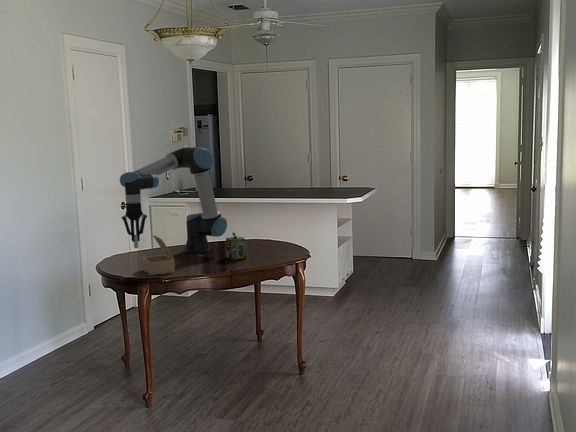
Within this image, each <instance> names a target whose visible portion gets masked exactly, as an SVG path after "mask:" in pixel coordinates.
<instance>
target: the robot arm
mask: <svg viewBox="0 0 576 432" xmlns="http://www.w3.org/2000/svg"><path fill="white" fill-rule="evenodd" d="M213 160H214V157H213V155H212V153H211V151H210V150H209V149H208V148H205V147H202V146H200V147H199V146H198V147H189V146H188V147H185V146H184V147H183V148H178V149H176V150H174V151H172V152H169V153H168V154H166V155H165V157H163V158H161V159H158V160H156V161H154V162H151V163H150V164H148V165H146V166H143V167H141V168H139V169H137V170H134V171H127V172H124V173H122V174H121V175H120V177H119V184H120V185H121V186H122V188H123V187H124V192H125V193H124V194H125V202H126V203H125V208H126V211H125V214H124V215H123V216H121V220H122V221H123V224H124V227H125V230H126V233H127V234H128V235H129V236H130V237H131V242H133V248H134V249H138V248H139V242H140V241H141V240H140V239H141V238H140V235H142V234H143V233H144V229H145V225H146V224H145V223H146V219H147V218H148V215H147V214H144V212H143V211H142V202H141V201H142V199H141V196H142V195H141V191H142V190H149V189H155V188H157V187H158V186H159V184H160V181H159V180H160V179H159V176H160V175H162V174H164V173H166V172H168V171H170V170H173V171H175V170H177V169H182V168H184V169H185V168H187V169H188V168H189V172H190V174H191V175H192V176H193V177H194V181H195V186H196V191H197V193H198V198H199V202H200V206H201V211H202V212H197V213H191V214H188V215H186V222H185V225H186V235H187V236H186V242H185V247H184V253H186V254H205V253H208V252H210V251H211V247H210V244H209V241H208V238H207V237H213V238H215V237H216V238H219V237H221V236H223V235H224V234H225V233H226V231H227V228H228V221H227V219H226V218H225V217H224V216H222V212H221V211H220V210H218V208H217V203H216V198H215V194H214V190H213V186H212V181H211V177H210V176H211V175H210V171H211V167H212V165H213ZM127 219H128V220H129V221H130V222H129V223H130V224H129V223H128V220H127ZM140 219H141V220H140ZM140 221H141V222H140ZM129 225H130V226H129Z"/></svg>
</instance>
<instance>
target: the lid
mask: <svg viewBox="0 0 576 432" xmlns="http://www.w3.org/2000/svg"><path fill="white" fill-rule="evenodd" d="M153 238H154V240H155V241H156V243H157V244H158V245H159V247H160V249H161V250H162V252H163V253H164V255H168V256H169V257H171V258H173V259H174V255H173V254H172V253H171V251H170V249H169V248H168V247H167V245H166V243H165V242H164V240H163V239H162V238H160V237H158V236H157V235H155V234H154V235H153Z"/></svg>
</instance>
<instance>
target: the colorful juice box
mask: <svg viewBox="0 0 576 432" xmlns="http://www.w3.org/2000/svg"><path fill="white" fill-rule="evenodd" d="M225 240H226V241H225V243H226V245H225V246H226V257H227V258H228V259H229V260H231V261H235V260H236V261H237V260H242V259H247V246H246V245H247V243H246V238H245V237H242V236H237V235H236V233H235V232H233V231H232V236H231V237H226V238H225Z"/></svg>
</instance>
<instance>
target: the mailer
mask: <svg viewBox="0 0 576 432" xmlns="http://www.w3.org/2000/svg"><path fill="white" fill-rule="evenodd" d="M141 258H142V259H141V260H142V262H141V263H142V271H143V270H144V271H143V272H145V273H146V272H147V273H148V274H147V273H146V274H147V275H148V276H150V275H154V276H157V275H156V274H162V275H167V274H166V273H169V274H175V273H176V270H175V269H176V266H175V258H174V257H173V258H172V257H170V256H168V255H167V254H158V255H151V256H142V257H141Z"/></svg>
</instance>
